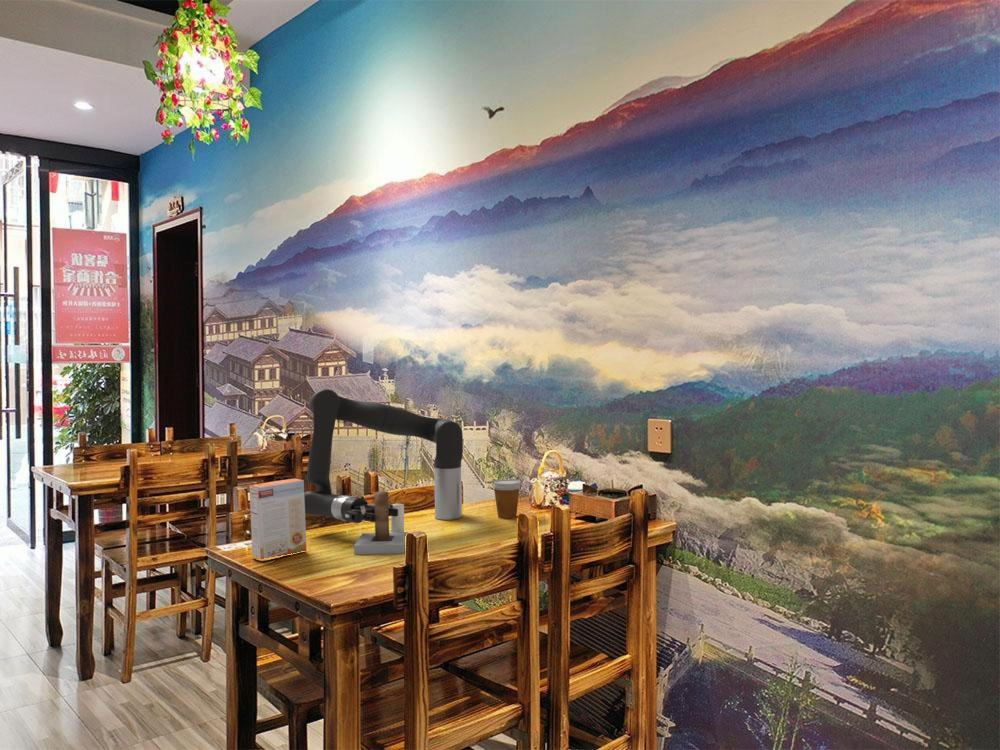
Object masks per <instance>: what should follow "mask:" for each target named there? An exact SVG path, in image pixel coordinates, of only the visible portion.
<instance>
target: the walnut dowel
mask: <svg viewBox="0 0 1000 750" xmlns="http://www.w3.org/2000/svg"><path fill="white" fill-rule="evenodd" d="M373 493H374V494H373V495H374V497H373V498H374V500H373V501H374V505H375V514H376V522H374V533H375V541H389V533H390V518H389V517H390V516H389V505H390V503H389V491H385V490H383V491H382V490H381V491H375V492H373Z"/></svg>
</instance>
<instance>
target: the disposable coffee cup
mask: <svg viewBox="0 0 1000 750" xmlns="http://www.w3.org/2000/svg"><path fill="white" fill-rule="evenodd" d="M492 487H493V490H494V498H495V504H496V505H495V506H496V512H497V518H499V519H502V518H503V519H504V520H505V519H506V520H510V519H515V518H517V514H518V504H519V495H520V494H519V493H520V487H521V484H520V480H517V479H497V480H494V481H493V485H492Z"/></svg>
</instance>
